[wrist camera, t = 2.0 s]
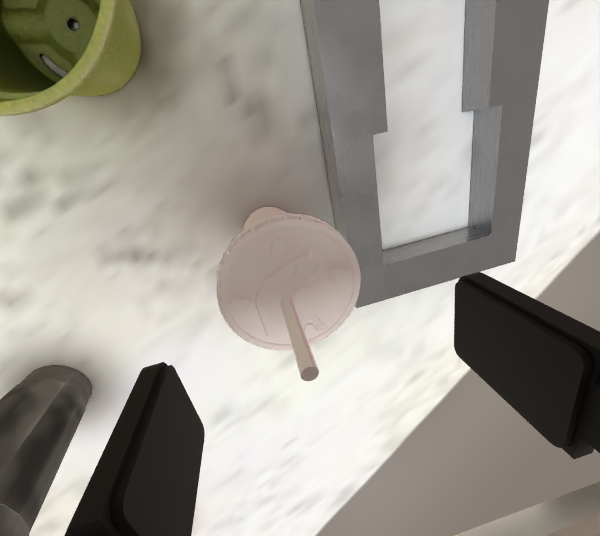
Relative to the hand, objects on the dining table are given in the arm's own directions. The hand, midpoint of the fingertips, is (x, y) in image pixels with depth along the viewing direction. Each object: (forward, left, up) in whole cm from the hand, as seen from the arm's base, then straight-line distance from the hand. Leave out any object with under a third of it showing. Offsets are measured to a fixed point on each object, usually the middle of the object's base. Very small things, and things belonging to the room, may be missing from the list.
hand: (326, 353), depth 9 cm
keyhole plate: (-6, +12, -13) cm, 18 cm away
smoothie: (-1, 0, -14) cm, 14 cm away
